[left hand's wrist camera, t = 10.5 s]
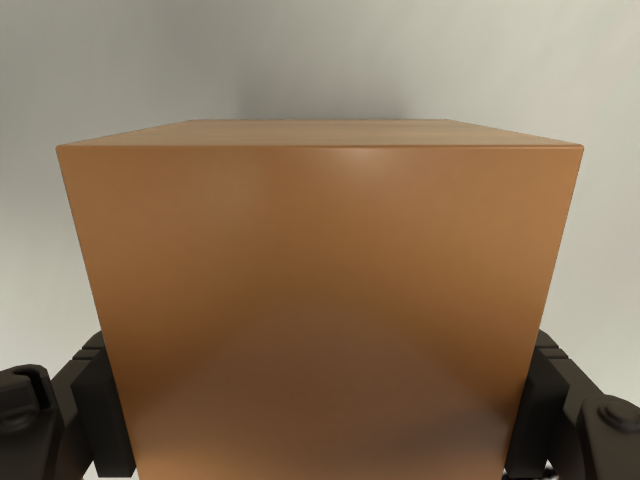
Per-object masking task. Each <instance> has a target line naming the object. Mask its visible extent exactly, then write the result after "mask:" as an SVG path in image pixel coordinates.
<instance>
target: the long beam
mask: <svg viewBox="0 0 640 480" xmlns="http://www.w3.org/2000/svg"><path fill="white" fill-rule="evenodd" d="M583 151H584V146H583V145H581V144H576V143H570V142H565V141H560V140H554V139H549V138H544V137H538V136H533V135H528V134H522V133H517V132H512V131H506V130H501V129H496V128H490V127H485V126H480V125H474V124H469V123H464V122H458V121H453V120H448V119H324V120H189V121H184V122H179V123H173V124H168V125H163V126H157V127H152V128H147V129H142V130H136V131H131V132H126V133H121V134H115V135H110V136H105V137H100V138H94V139H89V140H84V141H79V142H73V143H68V144H63V145H58V146H57V147H56V153H57V157H58V161H59V164H60V168H61V172H62V176H63V180H64V184H65V188H66V192H67V196H68V200H69V204H70V208H71V212H72V216H73V220H74V224H75V228H76V231H77V235H78V239H79V243H80V247H81V251H82V255H83V259H84V263H85V267H86V271H87V275H88V279H89V283H90V287H91V291H92V295H93V298H94V302H95V306H96V310H97V314H98V318H99V322H100V326H101V330H102V334H103V338H104V342H105V346H106V350H107V354H108V358H109V362H110V365H111V369H112V373H113V377H114V381H115V385H116V389H117V393H118V397H119V401H120V405H121V409H122V413H123V417H124V421H125V425H126V429H127V433H128V436H129V440H130V444H131V448H132V452H133V456H134V460H135V464H136V468H137V472H138V476H139V480H501V478H502V474H503V470H504V466H505V462H506V458H507V454H508V450H509V446H510V442H511V438H512V434H513V430H514V426H515V422H516V418H517V414H518V410H519V406H520V402H521V398H522V394H523V390H524V386H525V382H526V378H527V375H528V371H529V367H530V363H531V359H532V355H533V351H534V347H535V343H536V339H537V335H538V331H539V327H540V323H541V319H542V315H543V311H544V307H545V303H546V299H547V295H548V291H549V287H550V283H551V279H552V275H553V271H554V267H555V263H556V259H557V255H558V251H559V247H560V243H561V239H562V235H563V231H564V227H565V223H566V219H567V215H568V211H569V207H570V203H571V199H572V195H573V191H574V187H575V183H576V179H577V175H578V171H579V167H580V163H581V159H582V155H583Z"/></svg>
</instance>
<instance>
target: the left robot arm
mask: <svg viewBox="0 0 640 480" xmlns="http://www.w3.org/2000/svg"><path fill="white" fill-rule="evenodd" d="M72 358H73V359H72V360H70V361H69V362H68V363H67V364H66V365H65V366H64V367H63V368H62V369H61V370H60V371H59V372H58V373H57V374H56V376H55V377H54V378H53V379H52V380H51V381H50V378H49V375H48V372H47V369H46V368H44V367H42V366H41V365H34V364H27V365H21V366H15V367H12V368H9V369H6V370H3V371H0V480H83V476H84V474H85V472H86V471H87V469H88V467H89V466H90V464H91V463H92V461H94V464H95V467H96V471H97V474H98V477H132V475H133V473H134V471H135V469H136V464H135V460H134V456H133V452H132V448H131V444H130V440H129V436H128V433H127V429H126V425H125V421H124V417H123V413H122V409H121V405H120V401H119V397H118V393H117V389H116V385H115V381H114V377H113V373H112V369H111V365H110V362H109V358H108V354H107V350H106V346H105V342H104V338H103V334H102V330H101V331H99V332H98V333H96V334H95V335H93V336H92V337H91V338H90V339H89V340H88V341H87V343H86V344H85V345H84V346H83V347H82V350H79V351H78V352H77V353H76V354H75V355H74V356H73V357H72ZM547 459H548V460H549V462H550V463H551V465H552V467H553V468H554V470H555V471H556V473H557V475H558V477H557V480H640V408H639V407H637V406H635V405H634V404H632V403H630V402H628V401H626V400H623V399H621V398H618V397H615V396H612V395H606V394H604V393H603V392H602V391H601V390H600V389H599V388H598V387H597V386H596V385H595V384H594V383H593V382H592V381H591V380H590V379H589V378H588V377H587V375H586V374H585V373H584V372H583V371H582V370H581V369H580V368H579V367H578V366H577V365H576V364H575V363H574V362H573V361H572V360H571V359H569V358H568V355H567V354H566V353H565V352H564V351H563V350H562V349H559V346H558V345H557V344H556V343H555V342H554V341H553V340H552V339H551V337H550V336H549V335H548V334H546V333H545V332H543V331H542V330H540V329H539V331H538V335H537V339H536V343H535V347H534V351H533V355H532V359H531V363H530V367H529V371H528V375H527V378H526V382H525V386H524V390H523V394H522V398H521V402H520V406H519V410H518V414H517V418H516V422H515V426H514V430H513V434H512V438H511V442H510V446H509V450H508V454H507V458H506V462H505V466H504V468H505V470H506V472H507V474H508V476H509V477H512V478H542V475H543V472H544V469H545V465H546V462H547Z"/></svg>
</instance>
